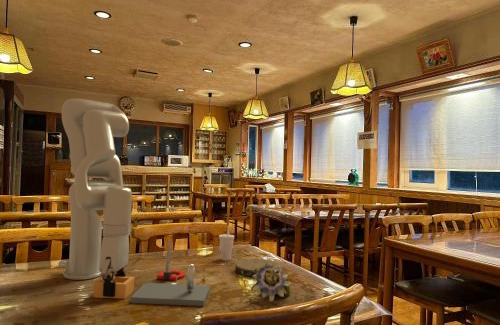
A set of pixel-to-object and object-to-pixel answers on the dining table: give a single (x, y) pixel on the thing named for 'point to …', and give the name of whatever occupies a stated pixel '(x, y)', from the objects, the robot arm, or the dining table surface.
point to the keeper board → (171, 294)
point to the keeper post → (190, 277)
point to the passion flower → (270, 281)
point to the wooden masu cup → (116, 287)
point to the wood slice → (251, 266)
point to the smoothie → (226, 245)
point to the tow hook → (167, 273)
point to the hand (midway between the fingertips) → (114, 291)
